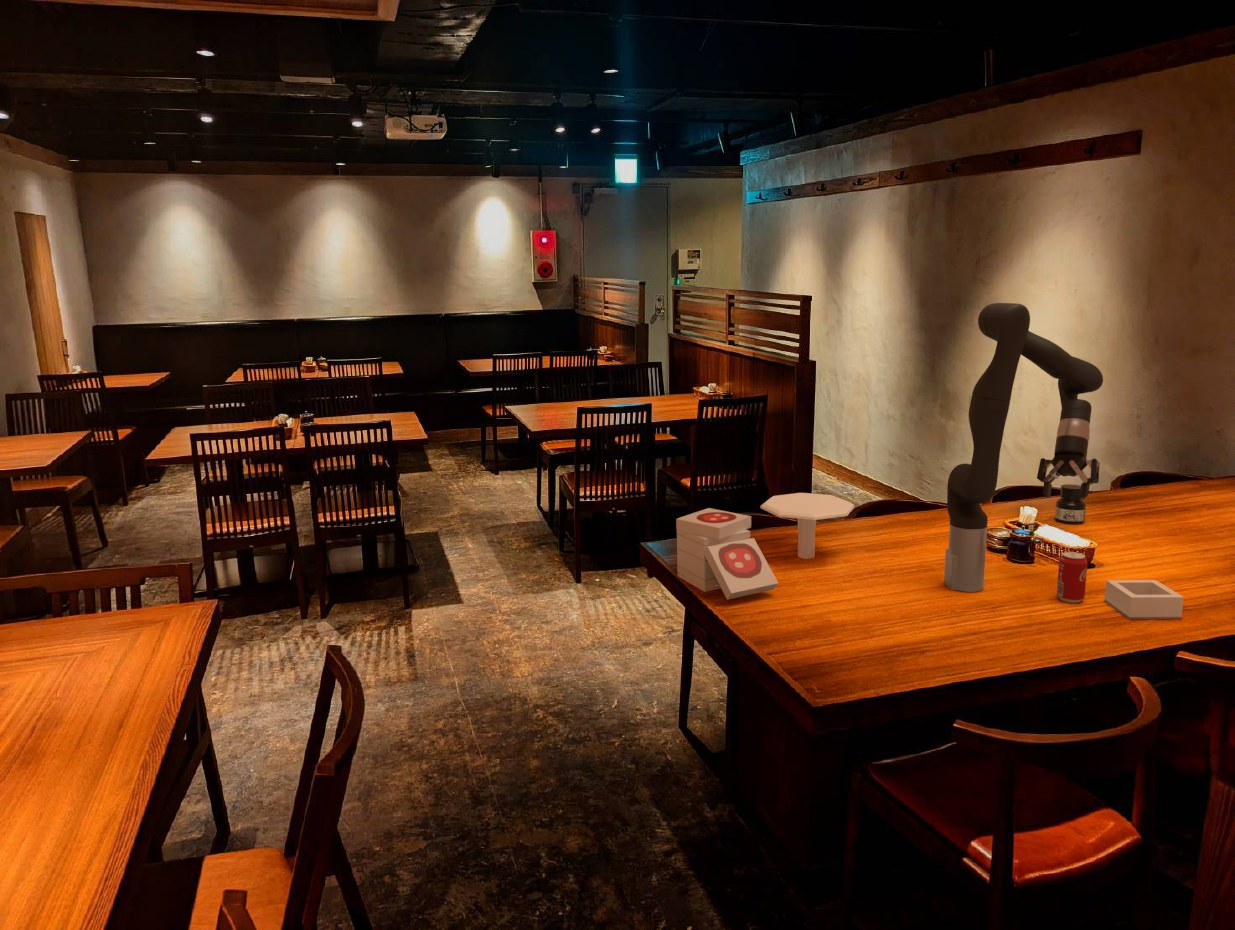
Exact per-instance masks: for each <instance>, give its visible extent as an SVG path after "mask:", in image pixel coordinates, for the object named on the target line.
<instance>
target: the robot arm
mask: <svg viewBox="0 0 1235 930" xmlns="http://www.w3.org/2000/svg"><path fill="white" fill-rule="evenodd" d="M977 326H978V328H979V331H980V332H981V334H982V335H984V336H985V337H987V338H989V339H991V340H993V341H996V347H995V351H994V355H993V357H992V359H991V361H990V363H989V365H988V366H987V368H986V370H984V372H983V373H982V374H981V376H980V377H979V379H978V380H977V382H976V383H975V384H974V386H973V390H972V393H971V398H970V402H969V406H968V423H969V428H970V433H971V438H972V443H973V448H972V449H973V450H972V457H971V462H970V463H961V464H960V463H959V464H957V465H955V466H954V468H953V469H952V470H951V471H950V473H949V476H948V479H947V488H946V491H947V492H946V495H947V496H946V501H947V503H946V509H947V513H948V516H949V517H948V518H949V532H948V535H949V536H948V547H947V548H946V549H945V555H944V556H945V558H944V573H943V574H944V576H943V583H944V584H945V585H946V586H947V587H948V589H949V590H950V591H959V592H965V593H976V592H980V591H982V590H983V589H984V585H985V569H986V555H987V554H986V551H987V540H988V539H987V538H988V537H987V536H988V535H987V534H988V520H989V518H988V515H987V514H986V513H985V511H984V510H983V508H982V506H981V504H985V503H987V502H988V501H990V499H991V498H992V497H993V496H994V493H995V492H996V489H997V484H998V475H999V465H1000V457H1001V456H1000V455H1001V450H1002V449H1001V447H1002V442H1003V438H1004V431H1005V426H1006V423H1007V422H1006V421H1007V418H1008V414H1009V410H1010V403H1011V398H1012V393H1013V388H1014V384H1015V379H1016V375H1017V371H1018V367H1019V362H1020V359H1021V356H1022V357H1024V358H1026V359H1027V360H1029V361H1030V362H1031V363H1033V364H1034V365H1036V366H1037V367H1038V368H1039V369H1041V370H1042V371H1043V372H1044V373H1046V374H1047V375H1049V376H1050V377H1052V378H1054V379H1057V389H1058V392H1059V393H1058V394H1059V399H1060V400H1059V401H1060V405H1061V410H1060V418H1059V423H1058V427H1057V431H1056V439H1055V447H1054V454H1053V455H1054V456H1053V458H1052V459H1045V458H1044V457H1042V458H1041V459H1040V460H1039V461H1040V462H1039V465H1038V469H1037V470H1038V471H1037V474H1036V479H1037V480H1039V481H1040V483H1043V487H1042V488H1043V489H1042V494H1043V495H1044V497H1045V498H1046V499H1047V498H1048V499H1050V498H1051V496H1052V495H1051V494H1052V488H1053V483H1054V482H1055V480H1058V479H1059V478H1060V477H1061V476H1062V477H1077V476H1078V477H1079V479H1080V480H1081V481H1082V482H1081V484H1080V486H1081V490H1080V498H1081V499H1082V500H1086V498H1088V496H1089V492H1090V486H1091V485H1093V484H1098V483H1099V480H1100V466H1101V465H1100V461H1099V460H1098V459H1097V458H1092V459H1088V458H1087V455H1088V448H1089V443H1090V442H1089V440H1090V437H1091V436H1090V432H1091V430H1090V429H1091V428H1090V425H1091V417H1092V416H1091V415H1092V405H1091V402H1089V400H1086V399H1082V398H1081V399H1079V398H1078V397H1079V395H1082V394H1086V393H1087V394H1089V393H1092V392H1096V391H1098V390H1099V389H1101V387H1102V385H1103V382H1104V375H1103V373H1102V372H1101V370H1100V368H1098V367H1097V366H1096V365H1095V364H1093V363H1091V362H1088V361H1086V360H1084V359H1081V358H1079V357H1076V356H1074V355H1073V356H1072V354H1070V353H1069V352H1067V351H1066V350H1065V349H1063V348H1062V347H1061V346H1060V345H1058V344H1057V343H1054V342H1053V341H1051V340H1049V339H1047V338H1045V337H1043V336H1041V335H1038V334H1036V333H1033V331H1030V330H1029V329H1030V326H1031V314H1030V311H1029V309H1028V308H1027V306H1025V305H1024V304H1022V303H1017V302H1016V303H1012V302H994V303H990V304H988V305H986V306H985V307H983V309H981V311H980V313H979V315H978V318H977ZM1051 466H1052V469H1050V471H1049V472H1048V474H1047V471H1048V469H1049V468H1050V467H1051ZM1087 466H1088V467H1089V468H1090V477H1087V475H1086V473H1085V472H1084V471H1083V470H1084V469H1085V468H1086V467H1087Z"/></svg>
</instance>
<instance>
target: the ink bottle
mask: <svg viewBox="0 0 1235 930" xmlns="http://www.w3.org/2000/svg"><path fill="white" fill-rule="evenodd" d="M1080 490H1081V485H1080V484H1069V483H1068V484H1066V483H1065V484H1062V485H1060V495H1059V496H1060V498H1059V499H1057V500H1056V502H1055V512H1054V513H1055V514H1054V519H1055V521H1056V522H1059V523H1062V524H1067V525H1081V524H1084V522H1085V519H1086V509H1087V503H1086V502H1085V501H1084V499H1081V498H1080Z"/></svg>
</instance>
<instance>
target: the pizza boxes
mask: <svg viewBox="0 0 1235 930" xmlns="http://www.w3.org/2000/svg"><path fill="white" fill-rule="evenodd" d="M675 521H676V522H675V523H676V525H675V526H676V529H675V530H676V557H677V559H676V562H677V566H676V567H677V569H676V570H677V572H678V573H677V572H676V573H677V575H676V576H677V577H678V578H680V579H682V580H684V581H685V582H687V583H688V584H690V585H692V586H694V587H696V588H698V589H699V590H701V591H703V592H705V593H706V592H711V591H716V590H720V589H721V590H722V593H723V595H724V596H725V598H726V600H727V601H728V600H732V599H737V598H742V597H746V596H751V595H755V594H759V593H764V592H769V591H773V590H775V589H776V587H777V586H778V585H779V582H778V579H777V578H776V576H775V574H774V573H773V570H772V569H771V566H770V565H769V563H768V561H767V560H766V558H765V556H764V554H763V552H762V551H761V548H760V547H759V544H757V541H756V539H755V538H754V537H752V538H751V531H750V530H748V529H751V528H752V516H751V515H745V514H741V513H736V512H730V511H726V510H720V509H717V508H716V509H715V508H711V507H708V508H705V509H702V510H699V511H695V512H692V513H690V514H686V515H684V516H680V517H678V518H676V520H675ZM679 573H680V574H679ZM681 574H682V575H684V576H685V577H684V576H682V575H681ZM686 577H687V578H686ZM689 579H690V580H689ZM691 580H692V581H691ZM693 581H694V582H693ZM696 583H697V584H696ZM698 584H699V585H698ZM700 585H701V586H700ZM715 585H718V586H715ZM711 586H713V587H711ZM703 587H704V588H703ZM706 587H708V588H706Z"/></svg>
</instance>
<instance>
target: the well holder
mask: <svg viewBox="0 0 1235 930" xmlns="http://www.w3.org/2000/svg"><path fill="white" fill-rule="evenodd" d="M1184 599H1185V597H1184V595H1183V596H1182V595H1181V594H1179V593H1178V592H1177V591H1174V590H1172V589H1171V588H1169V586H1166V585H1164V584H1163V583H1161V582H1160V581H1158V580H1156V579H1131V580H1129V579H1122V580H1121V579H1118V580H1117V579H1111V580H1109V579H1108V580H1107V579H1106V581H1105V589H1104V602H1105V603H1106V604H1107V605H1109V606H1111V607H1112V608H1113V609H1115V610H1116V611H1117V612H1119V613H1120V614H1122V615H1123V616H1125V618H1127V619H1129V620H1181V619H1182V616H1183V608H1184V607H1183V606H1184Z"/></svg>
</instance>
